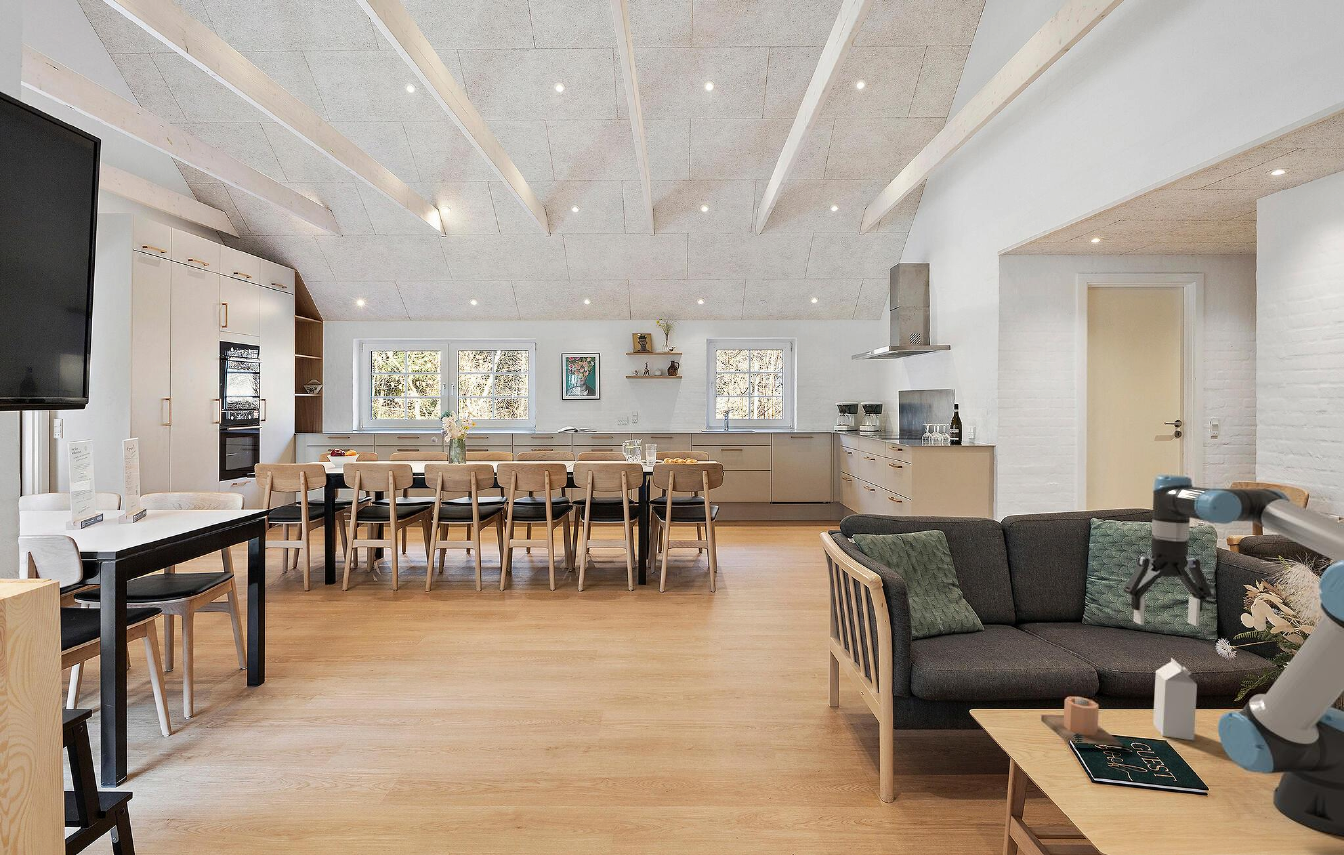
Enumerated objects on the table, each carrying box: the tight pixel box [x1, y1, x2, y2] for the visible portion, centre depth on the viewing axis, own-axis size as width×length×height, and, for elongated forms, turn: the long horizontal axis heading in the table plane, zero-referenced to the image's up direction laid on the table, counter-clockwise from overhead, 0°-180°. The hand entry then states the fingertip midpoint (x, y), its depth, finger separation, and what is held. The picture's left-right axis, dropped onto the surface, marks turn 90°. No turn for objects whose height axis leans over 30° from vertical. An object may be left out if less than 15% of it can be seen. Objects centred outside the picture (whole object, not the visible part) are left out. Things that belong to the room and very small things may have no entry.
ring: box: [1063, 696, 1100, 735], centre depth 186 cm, size 7×7×7 cm
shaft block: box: [1040, 697, 1124, 747], centre depth 186 cm, size 16×12×9 cm
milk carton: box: [1152, 657, 1198, 741], centre depth 188 cm, size 7×7×19 cm
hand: (1165, 623), depth 175 cm, fingers open, 13 cm apart
